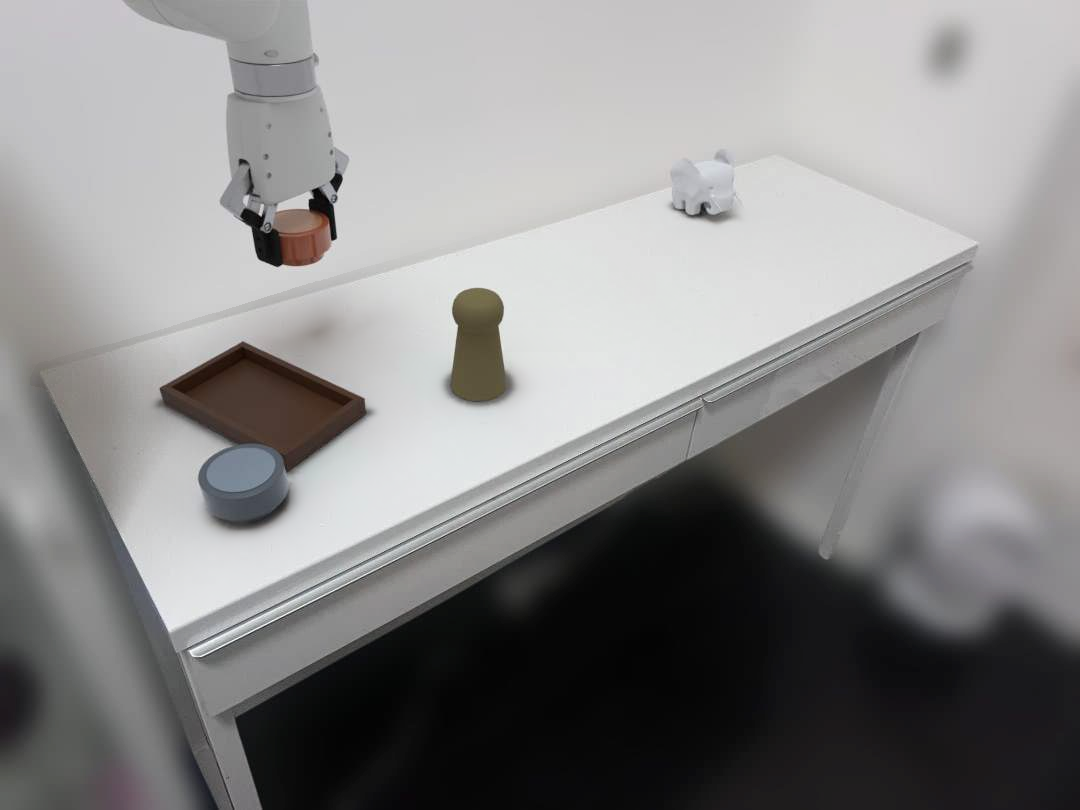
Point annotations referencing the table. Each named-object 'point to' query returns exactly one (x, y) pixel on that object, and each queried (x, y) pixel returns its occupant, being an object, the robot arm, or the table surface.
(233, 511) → the slate dish
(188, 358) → the table surface
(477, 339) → the pepper shaker
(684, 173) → the elephant figurine
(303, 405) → the tray
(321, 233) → the terracotta dish
